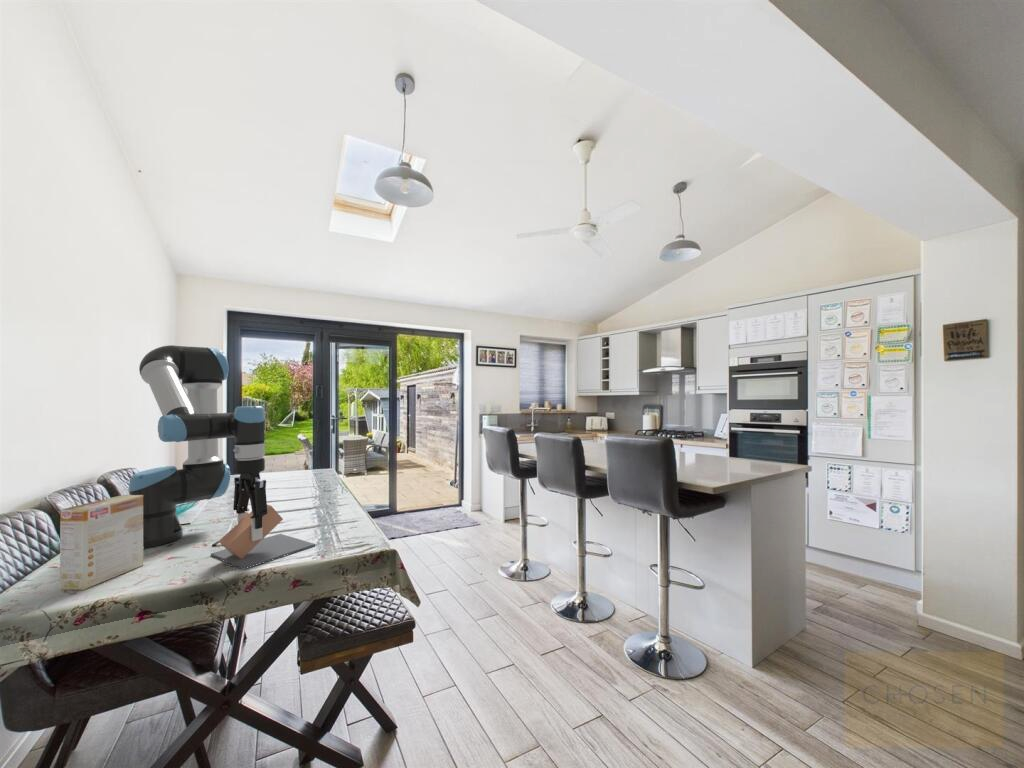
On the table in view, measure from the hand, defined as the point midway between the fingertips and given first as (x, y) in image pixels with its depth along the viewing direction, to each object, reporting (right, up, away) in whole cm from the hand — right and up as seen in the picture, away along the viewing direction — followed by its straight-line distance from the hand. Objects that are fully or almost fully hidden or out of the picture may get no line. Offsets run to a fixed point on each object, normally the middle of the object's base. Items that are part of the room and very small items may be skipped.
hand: (249, 537), depth 121 cm
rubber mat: (+2, -5, +3) cm, 7 cm away
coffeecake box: (-30, -6, -13) cm, 33 cm away
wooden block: (-3, -2, -5) cm, 6 cm away
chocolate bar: (-14, -7, +17) cm, 23 cm away
